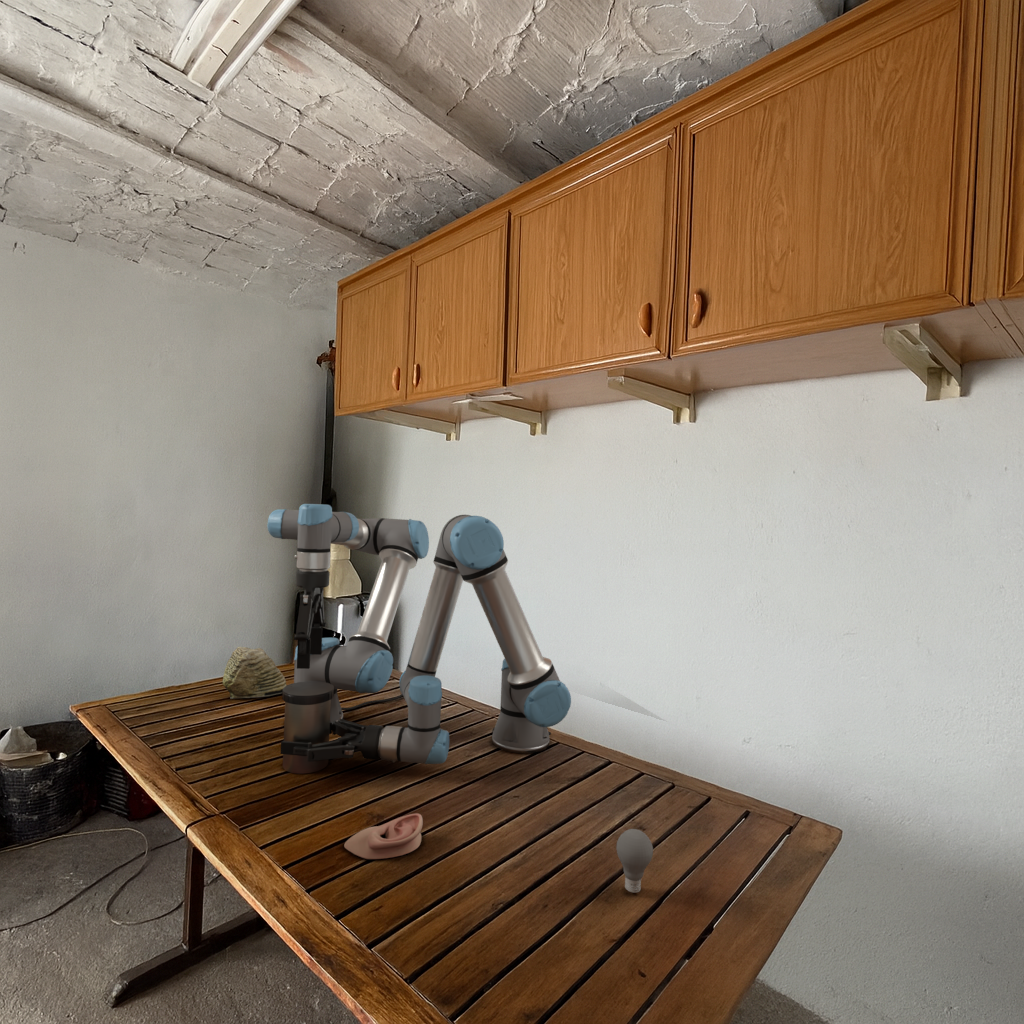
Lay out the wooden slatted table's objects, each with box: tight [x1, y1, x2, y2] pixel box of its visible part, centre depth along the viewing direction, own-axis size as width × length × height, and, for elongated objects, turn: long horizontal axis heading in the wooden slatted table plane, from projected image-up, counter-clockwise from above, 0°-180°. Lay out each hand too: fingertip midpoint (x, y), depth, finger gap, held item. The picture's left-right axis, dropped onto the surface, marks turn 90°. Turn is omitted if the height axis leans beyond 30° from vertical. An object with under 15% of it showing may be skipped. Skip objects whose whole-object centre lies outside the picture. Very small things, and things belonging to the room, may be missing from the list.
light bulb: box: [615, 828, 654, 894], centre depth 106 cm, size 6×6×10 cm
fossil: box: [222, 646, 288, 699], centre depth 198 cm, size 9×18×15 cm, turn 132°
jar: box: [282, 700, 331, 775], centre depth 149 cm, size 10×10×18 cm
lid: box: [281, 681, 334, 705], centre depth 149 cm, size 12×12×2 cm
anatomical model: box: [343, 813, 424, 860], centre depth 117 cm, size 13×4×12 cm
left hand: (309, 661), depth 149 cm, fingers open, 12 cm apart
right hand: (293, 736), depth 149 cm, fingers open, 13 cm apart
